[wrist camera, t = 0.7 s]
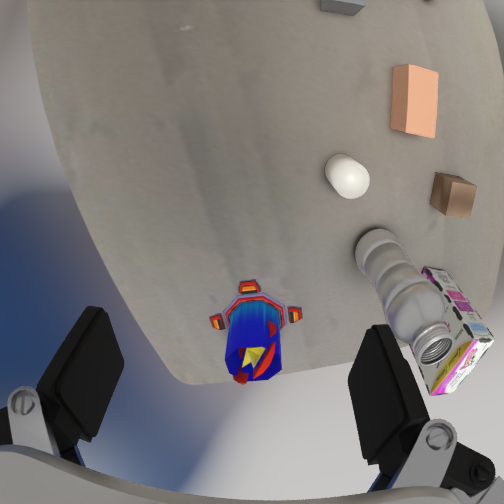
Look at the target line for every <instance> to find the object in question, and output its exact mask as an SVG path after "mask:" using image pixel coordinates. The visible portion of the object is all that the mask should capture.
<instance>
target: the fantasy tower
mask: <svg viewBox="0 0 504 504" xmlns="http://www.w3.org/2000/svg"><path fill="white" fill-rule="evenodd" d="M238 291H239V293H240V294H246V295H237V296H236V298H235V299H234V300H233V301H232V302H231V303H230V304H229V305H228V307H227V308H226V309H225V310H224V311H223V313H224V316H225V320H226V323H227V326H228V330H229V332H228V339H227V347H226V354H225V362H226V365H227V368H228V371H229V373H230V374H232V375H233V378H234V380H235V381H237V382H238V383H241V384H246V382H247V381H259V380H268V379H270V378H271V377H272V376H274V375H275V374H276V373H278V372H279V371H280V370H282V365H281V344H280V330H281V329H282V328H283V327H284V326H285V325H286V324H287V319H286V312H285V305H284V304H282V303H280V302H279V301H277V300H275V299H274V298H272V297H270V296H269V295H267V294H265V293H258V292H260V291H261V287H260V285H259V284H258V282H257V281H256V279H251V280H243V281H240V283H239V287H238ZM251 293H255V294H251ZM288 314H289V322H290V323H294V322H296V321H298V320H300V319H302V307H296V306H288ZM209 319H210V322H211V325H212V327H213V328H216V329H219V330H223V329H226V328H225V325H224V322H223V318H222V315H221V313H217V314H215V315H212V316H210V317H209Z"/></svg>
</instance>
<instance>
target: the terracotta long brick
mask: <svg viewBox="0 0 504 504" xmlns="http://www.w3.org/2000/svg"><path fill="white" fill-rule="evenodd" d="M437 99H438V73H437V72H434V71H431V70H428V69H424V68H421V67H418V66H414V65H410V64H406V65H401V66H396V67H393V87H392V109H391V124H390V128H391V129H395V130H398V131H402V132H405V133H411V134H416V135H421V136H425V137H430V138H434V137H435V127H436V115H437Z"/></svg>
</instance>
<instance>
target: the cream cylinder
mask: <svg viewBox="0 0 504 504" xmlns="http://www.w3.org/2000/svg"><path fill="white" fill-rule="evenodd" d="M325 175H326V178H327V179H328V181H329V182H330V183H331V184H332V186H333V187H334V188H335V189H336V191H337V192H338V193H339V194H340V195H341V196H343V197H345V198H348V199H354V198H358V197H360V196H361V195H363V194H364V193H365V192H366V190H367V189H368V186H369V181H370V179H369V174H368V172H367V170H366V169H365V168H364V167H363V166H362V165H361V164H359V163H358V162H356V161H355V160H353V159H352V158H350V157H349V156H347V155H344V154H338V155H335V156H333V157H331V158H330V159H329V160H328V161H327V163H326V166H325Z"/></svg>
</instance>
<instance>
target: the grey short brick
mask: <svg viewBox="0 0 504 504" xmlns="http://www.w3.org/2000/svg"><path fill="white" fill-rule="evenodd" d="M363 7H365V0H320V11H326V12H333V13H340V14H346V15H352V16H354V15H355V14H356V13H358V12H359V11H360V10H361V9H362V8H363Z"/></svg>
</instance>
